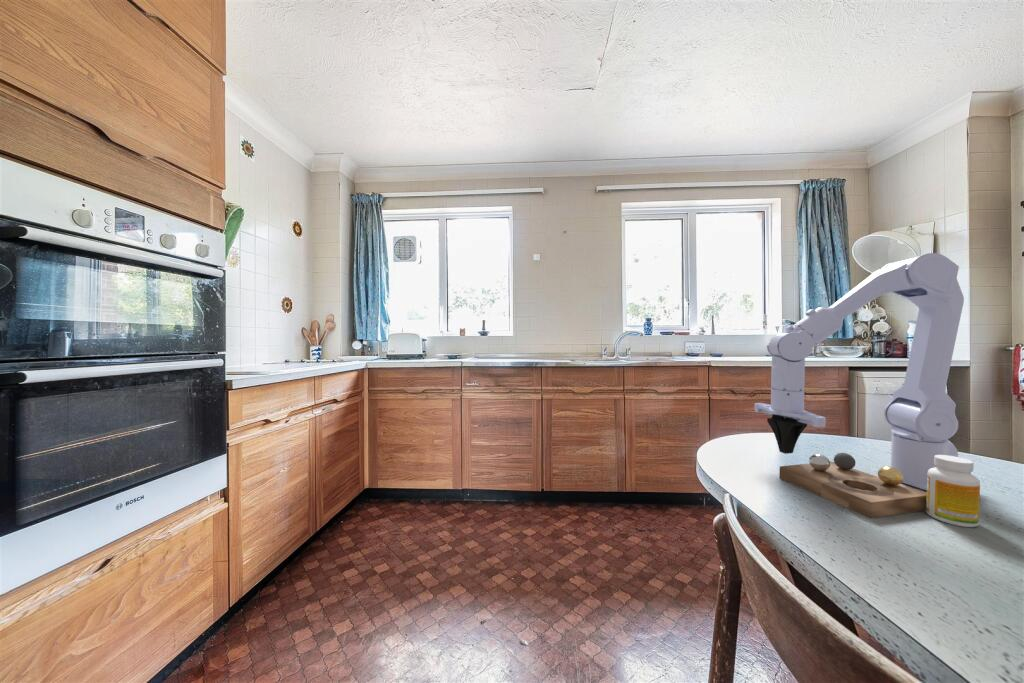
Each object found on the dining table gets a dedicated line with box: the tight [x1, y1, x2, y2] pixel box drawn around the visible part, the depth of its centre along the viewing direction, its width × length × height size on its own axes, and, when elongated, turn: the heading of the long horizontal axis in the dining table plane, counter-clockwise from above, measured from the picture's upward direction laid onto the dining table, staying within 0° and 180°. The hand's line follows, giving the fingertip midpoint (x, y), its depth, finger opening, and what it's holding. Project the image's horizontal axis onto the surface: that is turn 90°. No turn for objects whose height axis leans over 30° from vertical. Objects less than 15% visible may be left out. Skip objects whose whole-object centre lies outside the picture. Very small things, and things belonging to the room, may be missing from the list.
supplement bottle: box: [925, 455, 981, 528], centre depth 59 cm, size 5×5×10 cm
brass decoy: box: [877, 465, 903, 486], centre depth 66 cm, size 3×3×3 cm
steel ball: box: [808, 453, 830, 471], centre depth 72 cm, size 3×3×3 cm
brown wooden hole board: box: [778, 460, 927, 519], centre depth 68 cm, size 13×16×2 cm
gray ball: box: [833, 452, 856, 470], centre depth 73 cm, size 3×3×3 cm
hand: (786, 452), depth 79 cm, fingers closed
